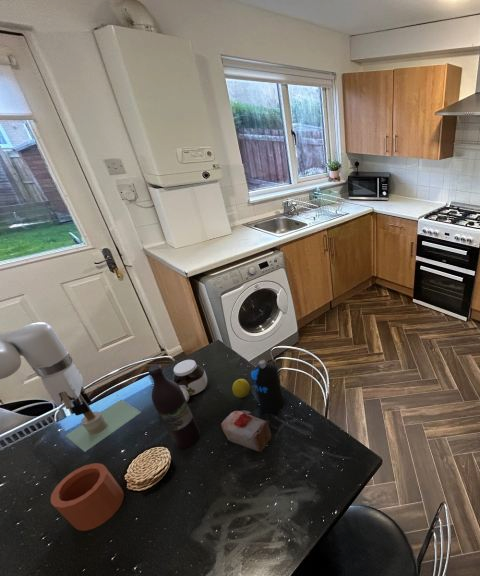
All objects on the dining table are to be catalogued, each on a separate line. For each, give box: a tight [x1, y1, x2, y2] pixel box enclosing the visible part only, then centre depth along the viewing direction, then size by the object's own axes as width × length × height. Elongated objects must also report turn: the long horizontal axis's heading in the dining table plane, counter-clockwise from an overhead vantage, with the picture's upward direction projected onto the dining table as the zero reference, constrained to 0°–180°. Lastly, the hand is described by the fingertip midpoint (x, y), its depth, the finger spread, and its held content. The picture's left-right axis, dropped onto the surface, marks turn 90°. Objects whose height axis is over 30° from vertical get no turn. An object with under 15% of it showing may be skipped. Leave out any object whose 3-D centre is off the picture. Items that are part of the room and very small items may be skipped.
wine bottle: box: [148, 364, 201, 450], centre depth 90 cm, size 7×7×30 cm
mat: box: [65, 399, 142, 453], centre depth 102 cm, size 16×12×1 cm
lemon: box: [231, 378, 251, 399], centre depth 110 cm, size 6×6×8 cm
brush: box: [73, 394, 107, 435], centre depth 96 cm, size 5×5×15 cm
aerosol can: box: [250, 359, 285, 415], centre depth 104 cm, size 8×8×20 cm
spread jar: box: [171, 359, 208, 402], centre depth 110 cm, size 12×11×12 cm
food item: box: [220, 409, 272, 453], centre depth 95 cm, size 14×8×10 cm, turn 71°
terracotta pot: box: [50, 462, 125, 532], centre depth 78 cm, size 10×10×11 cm
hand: (84, 408), depth 95 cm, fingers open, 3 cm apart
